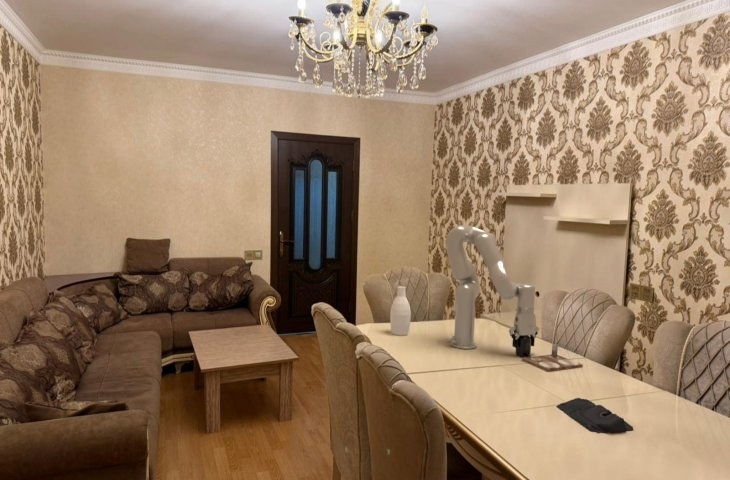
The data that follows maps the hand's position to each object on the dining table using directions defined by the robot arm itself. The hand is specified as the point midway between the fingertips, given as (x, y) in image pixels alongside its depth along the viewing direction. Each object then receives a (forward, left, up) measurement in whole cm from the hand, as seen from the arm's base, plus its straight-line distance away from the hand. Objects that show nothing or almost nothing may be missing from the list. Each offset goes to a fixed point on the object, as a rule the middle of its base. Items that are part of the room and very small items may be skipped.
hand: (523, 346), depth 227 cm
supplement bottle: (0, 0, -5) cm, 5 cm away
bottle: (-38, +52, -4) cm, 65 cm away
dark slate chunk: (-27, -63, -5) cm, 68 cm away
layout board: (+4, -14, -4) cm, 15 cm away
